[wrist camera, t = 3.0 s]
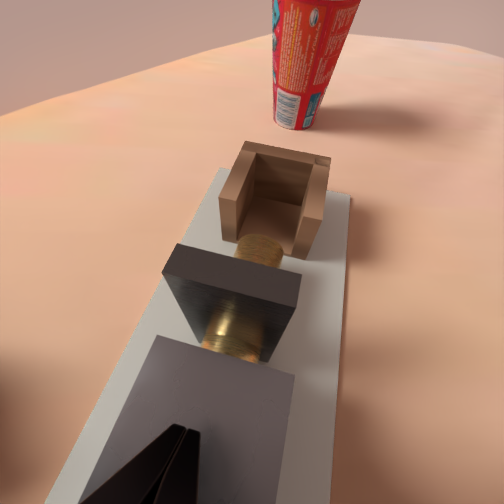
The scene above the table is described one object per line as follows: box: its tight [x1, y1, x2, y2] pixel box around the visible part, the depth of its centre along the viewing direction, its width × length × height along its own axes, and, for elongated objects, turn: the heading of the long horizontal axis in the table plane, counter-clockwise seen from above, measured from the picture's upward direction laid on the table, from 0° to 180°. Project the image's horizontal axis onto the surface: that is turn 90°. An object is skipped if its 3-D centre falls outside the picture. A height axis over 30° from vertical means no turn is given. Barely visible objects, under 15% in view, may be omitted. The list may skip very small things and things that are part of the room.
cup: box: [272, 0, 361, 130], centre depth 27 cm, size 9×8×12 cm
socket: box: [218, 141, 331, 260], centre depth 20 cm, size 6×7×5 cm
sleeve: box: [78, 335, 295, 504], centre depth 10 cm, size 10×6×5 cm, turn 165°
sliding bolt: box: [162, 234, 302, 364], centre depth 11 cm, size 17×4×9 cm, turn 165°
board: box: [44, 168, 350, 504], centre depth 17 cm, size 30×13×1 cm, turn 165°
